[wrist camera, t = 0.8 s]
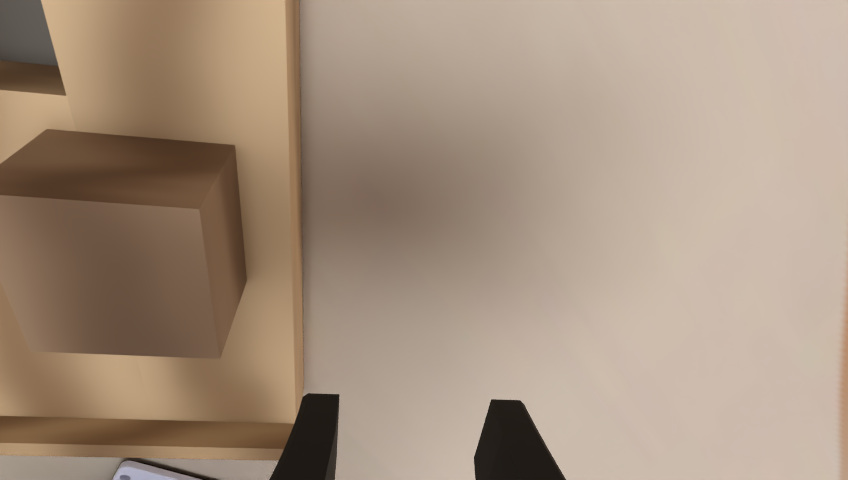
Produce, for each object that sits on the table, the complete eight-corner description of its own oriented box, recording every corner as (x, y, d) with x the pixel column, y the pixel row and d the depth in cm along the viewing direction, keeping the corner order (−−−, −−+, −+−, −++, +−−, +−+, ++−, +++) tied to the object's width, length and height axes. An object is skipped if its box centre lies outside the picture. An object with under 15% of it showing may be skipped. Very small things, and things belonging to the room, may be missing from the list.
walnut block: (235, 144, 15) (199, 209, 12) (246, 280, 18) (220, 359, 15) (46, 128, 14) (-38, 192, 12) (89, 272, 17) (30, 351, 14)
